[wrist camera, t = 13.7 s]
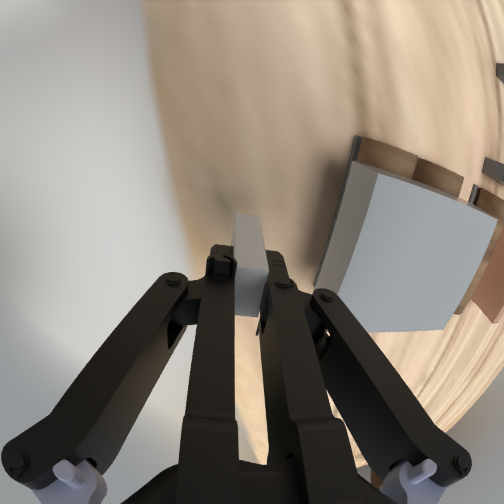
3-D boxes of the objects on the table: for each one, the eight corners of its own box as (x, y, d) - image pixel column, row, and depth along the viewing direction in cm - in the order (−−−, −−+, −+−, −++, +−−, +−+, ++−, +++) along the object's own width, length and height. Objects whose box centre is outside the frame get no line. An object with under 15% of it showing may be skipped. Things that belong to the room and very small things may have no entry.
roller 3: (475, 185, 23) (504, 200, 19) (489, 192, 24) (514, 207, 20) (430, 295, 31) (451, 316, 26) (447, 292, 32) (467, 312, 28)
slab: (352, 160, 17) (378, 173, 14) (470, 203, 19) (498, 219, 15) (310, 299, 23) (321, 331, 19) (425, 305, 24) (443, 329, 21)
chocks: (355, 135, 21) (357, 135, 21) (492, 194, 24) (494, 195, 24) (313, 284, 29) (314, 287, 28) (450, 295, 31) (451, 296, 31)
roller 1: (352, 134, 21) (380, 141, 17) (397, 149, 22) (429, 160, 18) (310, 283, 29) (324, 315, 24) (352, 286, 30) (369, 316, 25)
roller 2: (408, 153, 22) (442, 166, 18) (440, 167, 23) (472, 182, 18) (362, 288, 29) (381, 318, 25) (394, 290, 30) (415, 316, 26)
